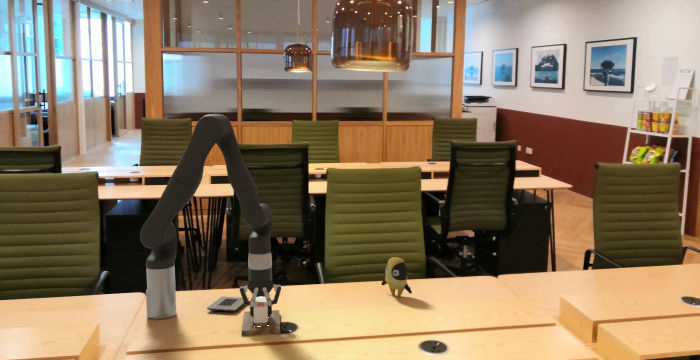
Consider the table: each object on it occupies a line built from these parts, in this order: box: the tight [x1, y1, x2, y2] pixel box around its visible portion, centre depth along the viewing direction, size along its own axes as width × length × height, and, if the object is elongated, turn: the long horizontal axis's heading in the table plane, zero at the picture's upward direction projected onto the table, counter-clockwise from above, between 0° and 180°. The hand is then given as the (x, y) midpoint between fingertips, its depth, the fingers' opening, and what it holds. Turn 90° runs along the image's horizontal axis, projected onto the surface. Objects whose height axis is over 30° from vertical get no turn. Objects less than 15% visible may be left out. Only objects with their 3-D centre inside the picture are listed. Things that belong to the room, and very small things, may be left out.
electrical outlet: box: [206, 296, 250, 312], centre depth 215 cm, size 13×10×2 cm
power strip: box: [254, 296, 268, 327], centre depth 197 cm, size 4×12×7 cm, turn 7°
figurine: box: [381, 256, 413, 298], centre depth 226 cm, size 8×16×15 cm, turn 42°
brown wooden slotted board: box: [241, 309, 281, 336], centre depth 198 cm, size 12×18×2 cm, turn 7°
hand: (261, 316), depth 197 cm, fingers closed on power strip, 4 cm apart
